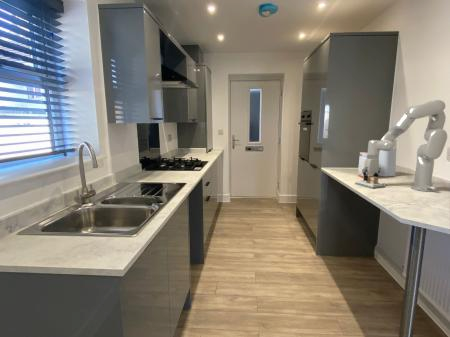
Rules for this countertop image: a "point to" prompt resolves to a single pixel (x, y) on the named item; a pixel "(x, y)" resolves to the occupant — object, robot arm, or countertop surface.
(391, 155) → the plastic bottle
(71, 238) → the countertop surface
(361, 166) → the cracker box
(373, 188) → the locator board
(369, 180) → the oak block
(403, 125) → the robot arm
